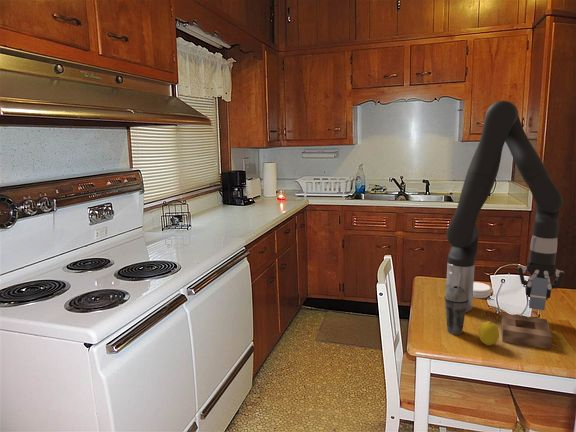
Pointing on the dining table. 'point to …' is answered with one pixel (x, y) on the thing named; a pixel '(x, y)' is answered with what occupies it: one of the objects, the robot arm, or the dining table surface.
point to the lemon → (489, 333)
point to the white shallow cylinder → (481, 290)
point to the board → (526, 331)
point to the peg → (538, 293)
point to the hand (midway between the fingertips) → (537, 297)
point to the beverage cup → (455, 308)
